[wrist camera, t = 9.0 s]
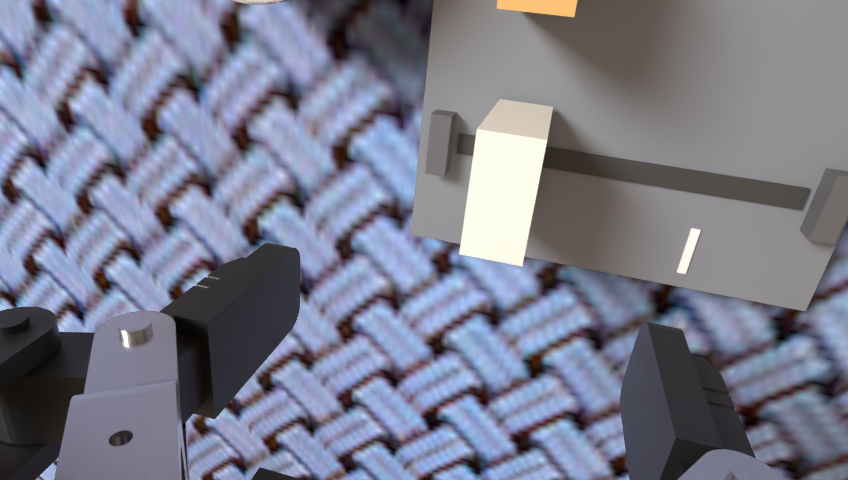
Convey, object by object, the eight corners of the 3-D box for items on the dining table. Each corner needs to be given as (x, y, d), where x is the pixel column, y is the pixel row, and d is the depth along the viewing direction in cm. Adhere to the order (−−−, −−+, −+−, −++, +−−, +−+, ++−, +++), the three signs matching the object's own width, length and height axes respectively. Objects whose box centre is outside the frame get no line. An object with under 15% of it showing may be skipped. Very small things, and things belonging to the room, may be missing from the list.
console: (999, -180, 20) (1071, -212, 17) (790, 292, 28) (815, 324, 25) (464, -204, 23) (449, -233, 21) (419, 221, 32) (404, 243, 29)
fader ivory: (553, 106, 25) (547, 140, 19) (533, 206, 27) (522, 266, 21) (499, 99, 26) (476, 129, 19) (484, 197, 28) (459, 253, 21)
